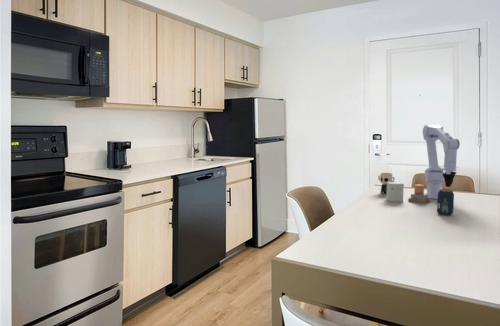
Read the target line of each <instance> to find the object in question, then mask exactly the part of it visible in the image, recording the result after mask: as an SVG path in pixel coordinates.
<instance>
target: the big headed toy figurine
mask: <svg viewBox="0 0 500 326" xmlns="http://www.w3.org/2000/svg"><path fill="white" fill-rule="evenodd" d="M377 180H378V181H380V184H381V186H380V187H381V188H380V193H381V194H386V195H387V182H395V177H394V176H393V173H391V172H380V175H378V179H377Z"/></svg>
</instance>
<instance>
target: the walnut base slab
mask: <svg viewBox="0 0 500 326" xmlns="http://www.w3.org/2000/svg"><path fill="white" fill-rule="evenodd" d="M431 199H432V198H427V199H425V200H420V199H413V198H411V196H410V197H408V199H407V201H408V202H409V203H415V202H416V203H417V204H424V205H425V204H428V203H430V202H431V201H432V200H431Z"/></svg>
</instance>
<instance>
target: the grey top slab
mask: <svg viewBox="0 0 500 326" xmlns="http://www.w3.org/2000/svg"><path fill="white" fill-rule="evenodd" d="M410 197H411V198H413V199H420V200H425V199H427V198H428V194H427V192H426V193H425V192H424V194H423V195H418V194H414V192H412V193H411V194H410Z"/></svg>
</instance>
